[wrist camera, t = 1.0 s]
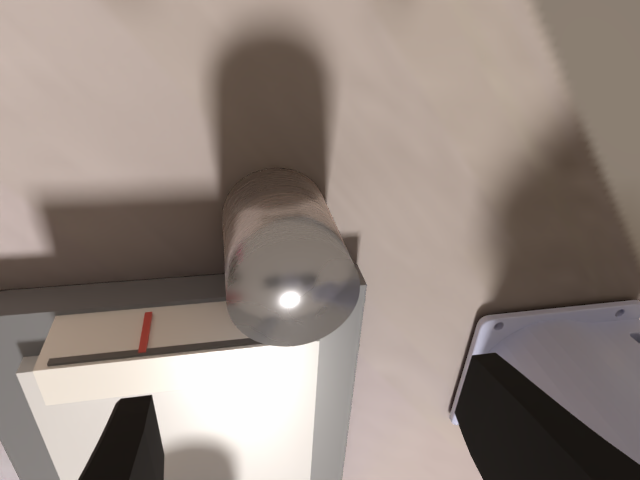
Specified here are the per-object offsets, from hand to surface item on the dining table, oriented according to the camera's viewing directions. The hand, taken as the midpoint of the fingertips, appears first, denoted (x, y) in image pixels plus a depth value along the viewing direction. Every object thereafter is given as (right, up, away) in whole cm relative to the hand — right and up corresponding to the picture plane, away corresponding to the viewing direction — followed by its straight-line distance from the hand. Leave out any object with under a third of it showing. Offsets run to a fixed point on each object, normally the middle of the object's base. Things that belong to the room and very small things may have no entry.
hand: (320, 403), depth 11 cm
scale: (-6, -5, +12) cm, 15 cm away
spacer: (-2, +5, +7) cm, 9 cm away
